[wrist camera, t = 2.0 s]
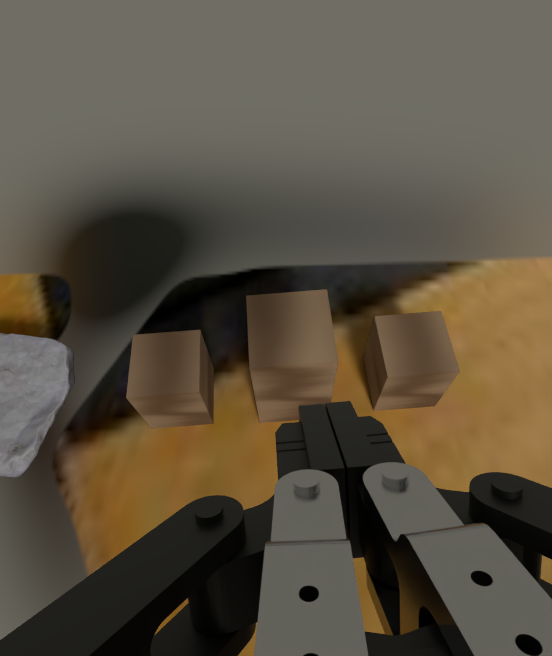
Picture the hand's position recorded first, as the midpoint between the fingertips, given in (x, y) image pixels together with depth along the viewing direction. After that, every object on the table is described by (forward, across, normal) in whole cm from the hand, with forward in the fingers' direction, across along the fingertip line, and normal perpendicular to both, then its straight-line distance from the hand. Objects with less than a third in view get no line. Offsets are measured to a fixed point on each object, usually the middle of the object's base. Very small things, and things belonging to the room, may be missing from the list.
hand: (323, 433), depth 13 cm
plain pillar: (+24, 0, +8) cm, 25 cm away
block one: (+24, -9, +8) cm, 26 cm away
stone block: (+24, +23, +8) cm, 34 cm away
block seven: (+24, +9, +8) cm, 27 cm away
